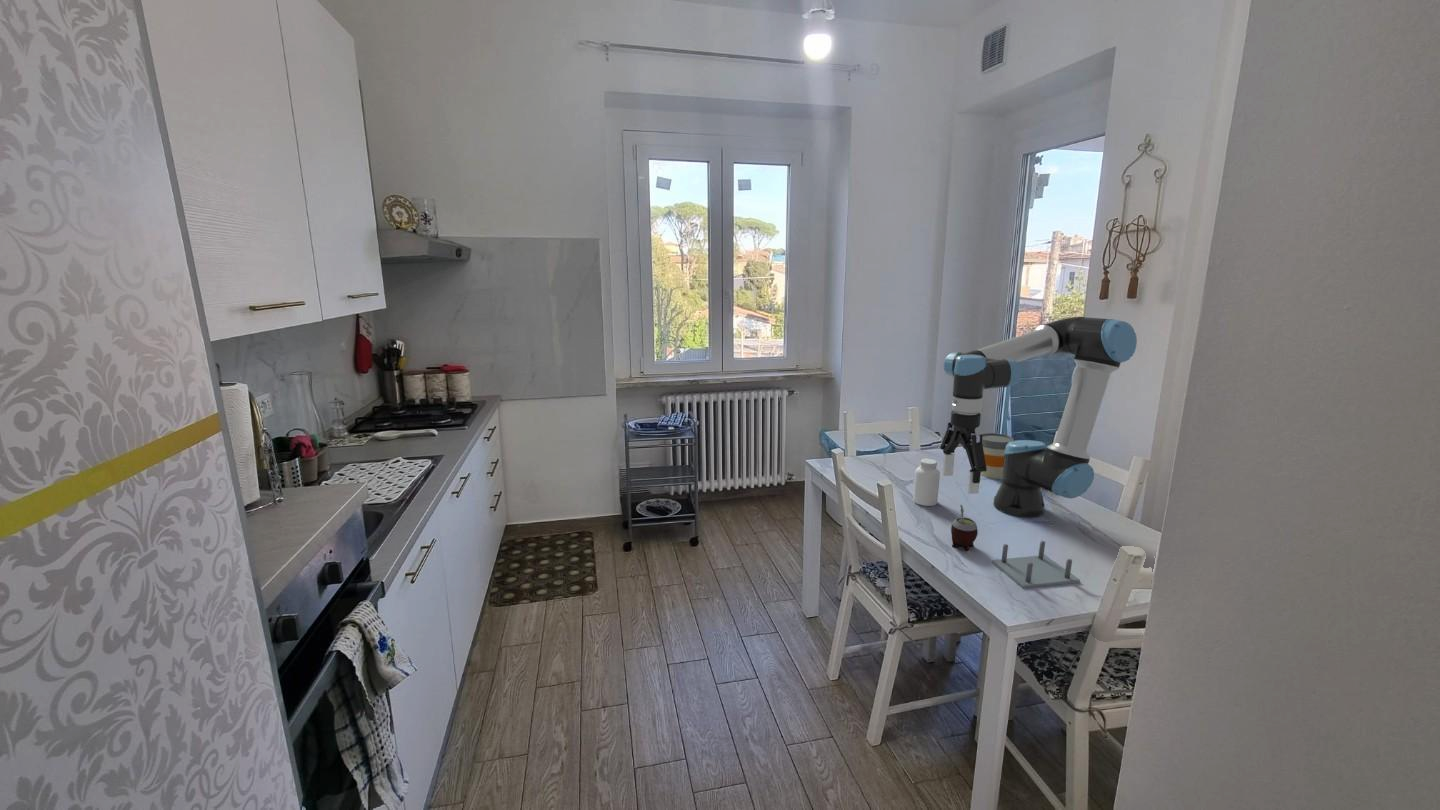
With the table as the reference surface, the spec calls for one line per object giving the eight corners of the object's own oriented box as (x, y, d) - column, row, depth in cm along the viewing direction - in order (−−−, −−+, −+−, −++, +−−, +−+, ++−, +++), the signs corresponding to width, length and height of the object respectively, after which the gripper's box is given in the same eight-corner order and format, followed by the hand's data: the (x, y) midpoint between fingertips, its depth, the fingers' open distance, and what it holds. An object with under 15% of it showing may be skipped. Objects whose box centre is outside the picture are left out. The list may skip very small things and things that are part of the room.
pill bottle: (942, 504, 196) (946, 463, 192) (923, 508, 193) (927, 466, 189) (926, 496, 203) (929, 455, 199) (908, 499, 200) (910, 459, 196)
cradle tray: (1044, 557, 160) (1047, 538, 159) (1079, 582, 147) (1082, 562, 146) (991, 562, 158) (993, 543, 156) (1022, 588, 145) (1025, 567, 144)
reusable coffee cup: (982, 480, 216) (986, 442, 213) (969, 469, 229) (972, 432, 225) (1016, 480, 216) (1020, 442, 212) (1001, 468, 228) (1005, 432, 225)
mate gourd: (968, 540, 170) (973, 493, 167) (981, 553, 163) (986, 504, 159) (944, 541, 170) (948, 494, 167) (956, 554, 162) (960, 505, 159)
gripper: (931, 401, 169) (926, 469, 174) (978, 424, 145) (971, 502, 150) (955, 400, 170) (950, 467, 175) (1006, 422, 146) (998, 500, 151)
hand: (959, 484), depth 163 cm, fingers open, 13 cm apart
